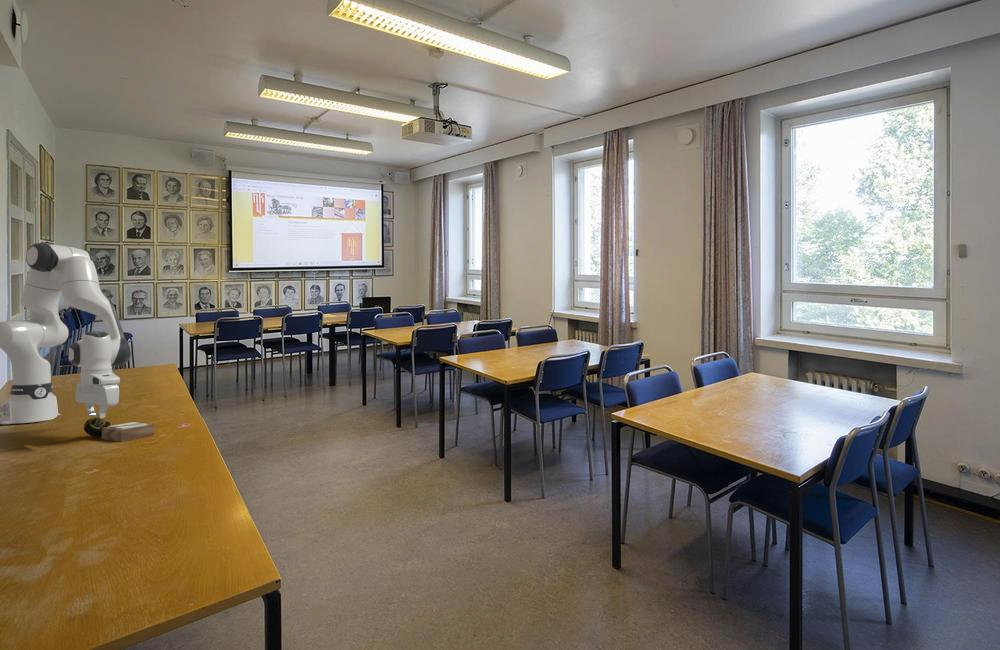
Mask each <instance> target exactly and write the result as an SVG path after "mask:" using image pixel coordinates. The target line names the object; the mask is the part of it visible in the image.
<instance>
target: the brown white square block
mask: <svg viewBox="0 0 1000 650" xmlns="http://www.w3.org/2000/svg"><path fill="white" fill-rule="evenodd" d="M151 436H155V425H154V424H153V423H152V424H151V423H143V422H135V421H131V422H126V423H121V424H114V425H111V426H108V427H104V428H102V437H101V440H108V441H114V442H119V443H121V442H126V441H127V442H128V441H130V440H137V439H142V438H143V439H144V438H146V437H151Z"/></svg>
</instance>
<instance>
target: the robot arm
mask: <svg viewBox="0 0 1000 650" xmlns="http://www.w3.org/2000/svg"><path fill="white" fill-rule="evenodd" d="M25 253H26V254H25V260H26V263H27V265H28V267H29V271H28V272H27V275H26V279H25V282H24V286H23V290H22V293H21V298H20V302H21V305H22V306H23V307H24V308H25V309H26V310H29V313H30V317H29V319H11V320H4V321H0V349H1V350H2V351H3V352H4V353H5V354H6V355H7V357H8V359H9V361H10V363H11V364H10V365H11V368H12V371H11V372H12V385H11V387H10V393H9V394H10V395H9V396H8V398H7V399H6V400H5V401H4V402H3V403H2V404H1V405H0V413H1V414H0V425H11V424H27V423H28V424H29V423H36V422H45V421H50V420H53V419H55V418H57V417H58V416H60V415H61V413H59V410H58V408H59V407H58V401H57V396H56V395H55V394H53V391H54V390H53V388H54V385H53V382H52V379H51V376H52V371H51V369H52V368H51V363H50V362H49V360H48V359H45V358H43V357H42V356H41V355H40V354H39V351H38V349H39V348H52V347H56V346H60V345H63V344H64V343H66V341H67V339H68V338H69V328H68V327H67V325H66V324H65V323H63V321H62V320H61V318H60V315H59V305H60V299H61V294H62V296H63V299H64V301H65V302H66V303H67V304H68V305H69V306H71V307H72V308H75V309H76V310H80V311H81V312H82V311H83V312H86V313H89V314H92V315H95V316H96V317H98V318H100V319H101V321H103V324H104V327H105V331H100V330H99V331H97V330H96V331H94V330H93V331H86V332H84V333H83V334H82V336H81V339H79V340H77V341H74V342H72V343H71V344H70V345H69V346H68V347H67V361H68V362H69V363H70V364H71V365H73V366H74V367H78V368H80V379H79V380H78V381H79V382H77V384H76V388H75V401H76V402H77V403H81V404H85V409H86V411H87V417H95V416H96V410H95V408H94V407H95V406H98V409H99V411H98V412H97V416H96V418H101V419H104V418H106V412H107V411H108V407H115V406H117V405H118V404H119V402H120V401H119V400H120V386H119V384H120V383H121V378H120V377H119V376H118V375H116V373H114V372H113V367H122V366H124V365H125V364H126V363H128V361H129V360H130V359H131V355H132V352H131V347H130V345H129V343H128V341H127V339H126V336H125V334H124V331H123V328H122V324H121V322H120V318H119V316H118V313H117V310H116V307H115V305H114V303H113V302H112V300H111V299H109V298H107V297H106V296H105V294H104V293H103V292H102V289H101V288H100V281H99V275H98V273H97V272H98V270H99V266H100V261H99V258H98V255H97V254H96V253H95V252H93V251H90V250H88V249H80V248H77V247H73V246H68V245H59V244H48V243H44V242H42V243H41V242H38V243H33V244H32V245H30V247H28V249H27V250H26V252H25Z"/></svg>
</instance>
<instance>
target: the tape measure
mask: <svg viewBox="0 0 1000 650" xmlns="http://www.w3.org/2000/svg"><path fill="white" fill-rule="evenodd" d="M108 426H112V424H111V422H110V421H105V420H104V418H98V417H91V418H89V419H88V420H86V421H85V423H84V424H83V430H84V432H85V434H86V435H89V436H92V437H96V438H99V439H102V428H104V427H108Z"/></svg>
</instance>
